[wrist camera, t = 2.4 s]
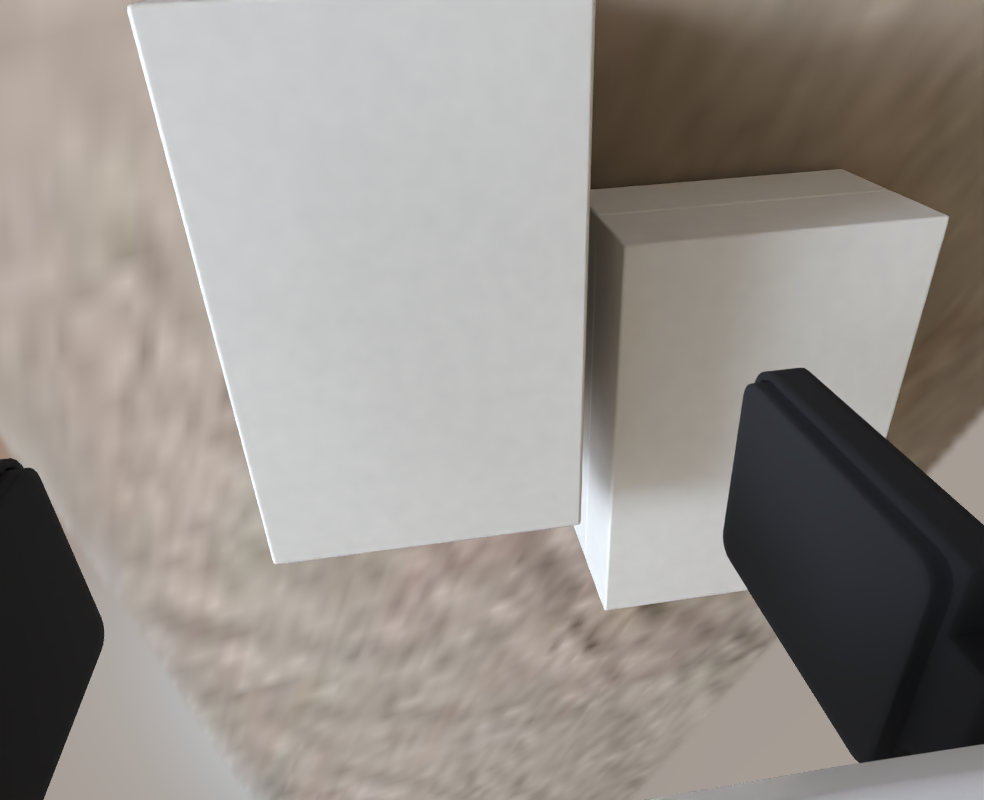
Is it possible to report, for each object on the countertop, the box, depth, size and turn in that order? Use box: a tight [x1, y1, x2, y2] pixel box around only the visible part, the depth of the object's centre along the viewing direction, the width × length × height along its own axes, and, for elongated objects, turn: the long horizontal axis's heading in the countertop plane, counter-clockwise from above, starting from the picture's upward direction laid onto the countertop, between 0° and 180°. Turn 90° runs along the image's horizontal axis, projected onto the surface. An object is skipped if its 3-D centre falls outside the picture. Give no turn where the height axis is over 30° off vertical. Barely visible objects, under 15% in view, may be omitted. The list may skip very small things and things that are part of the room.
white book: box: [127, 0, 596, 565], centre depth 15 cm, size 11×7×2 cm, turn 3°
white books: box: [574, 169, 949, 610], centre depth 21 cm, size 11×8×4 cm
